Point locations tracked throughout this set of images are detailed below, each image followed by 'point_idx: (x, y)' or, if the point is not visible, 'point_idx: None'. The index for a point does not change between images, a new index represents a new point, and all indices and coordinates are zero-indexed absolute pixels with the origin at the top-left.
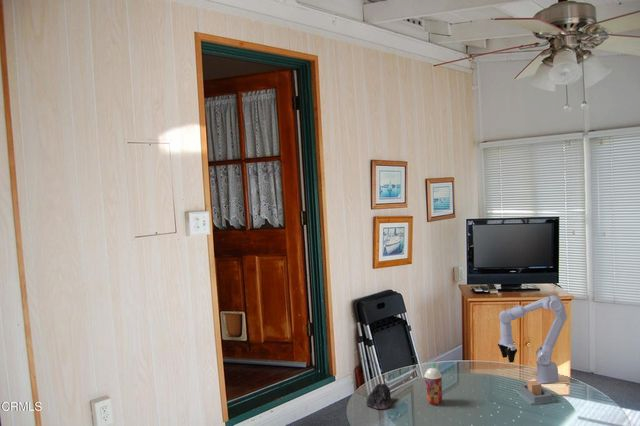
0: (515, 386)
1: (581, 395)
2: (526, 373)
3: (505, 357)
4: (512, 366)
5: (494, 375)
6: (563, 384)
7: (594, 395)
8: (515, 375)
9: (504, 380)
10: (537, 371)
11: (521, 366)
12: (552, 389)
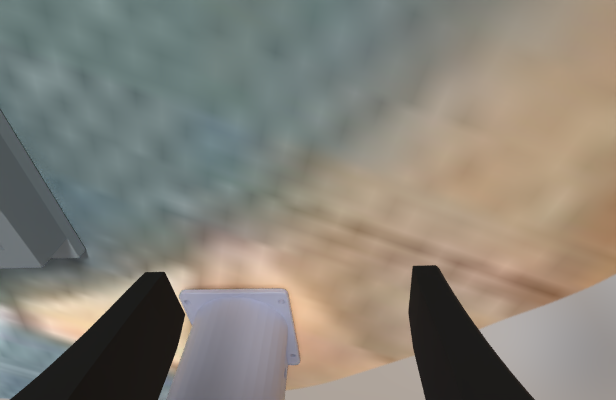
0: (127, 118)
1: (35, 361)
2: (393, 279)
3: (411, 294)
4: (587, 252)
5: (471, 11)
6: (174, 357)
7: None
8: (383, 205)
9: (289, 72)
10: (226, 351)
11: (541, 298)
12: (95, 301)
